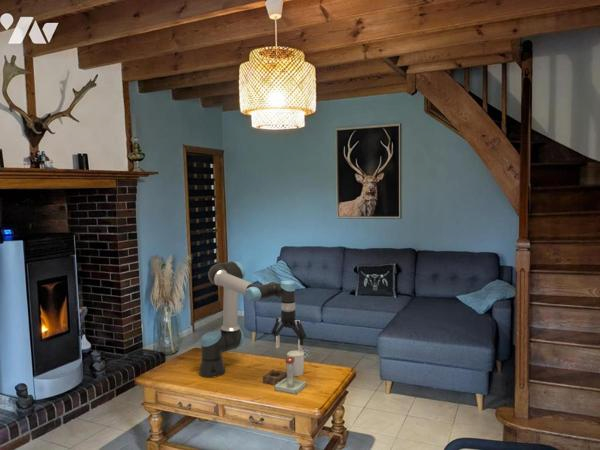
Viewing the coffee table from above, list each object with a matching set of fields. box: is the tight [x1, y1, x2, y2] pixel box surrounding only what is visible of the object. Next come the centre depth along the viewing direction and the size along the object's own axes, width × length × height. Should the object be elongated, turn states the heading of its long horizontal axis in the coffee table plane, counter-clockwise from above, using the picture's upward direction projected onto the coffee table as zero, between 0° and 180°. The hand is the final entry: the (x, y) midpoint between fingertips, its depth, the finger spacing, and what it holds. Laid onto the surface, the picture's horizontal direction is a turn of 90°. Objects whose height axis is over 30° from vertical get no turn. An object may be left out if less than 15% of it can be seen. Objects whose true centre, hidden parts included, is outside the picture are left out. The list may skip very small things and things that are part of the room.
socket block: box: [262, 369, 287, 386], centre depth 256 cm, size 10×10×4 cm
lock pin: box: [285, 357, 295, 388], centre depth 245 cm, size 5×5×16 cm
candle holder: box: [286, 350, 305, 377], centre depth 266 cm, size 10×10×12 cm
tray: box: [273, 378, 307, 396], centre depth 246 cm, size 13×12×3 cm
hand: (288, 349), depth 245 cm, fingers open, 13 cm apart
